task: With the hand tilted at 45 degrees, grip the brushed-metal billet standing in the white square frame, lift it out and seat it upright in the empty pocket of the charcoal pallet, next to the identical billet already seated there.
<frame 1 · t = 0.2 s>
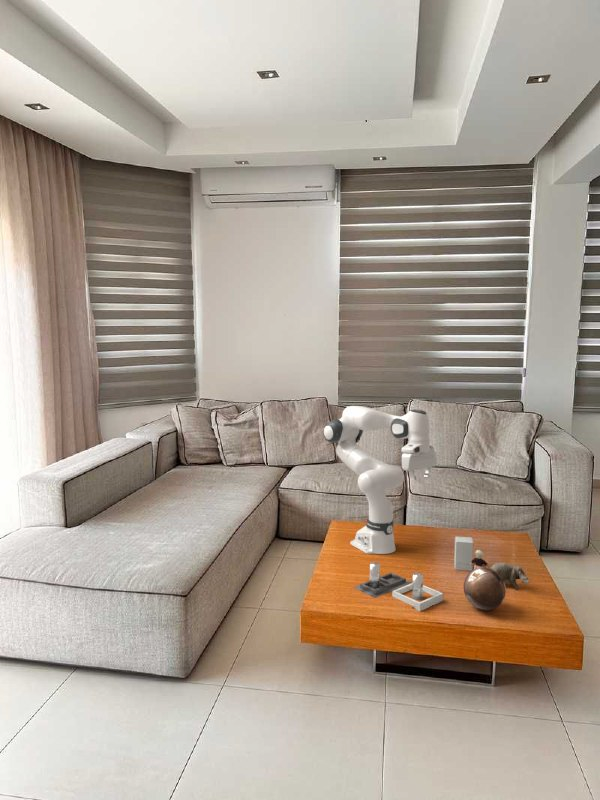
hand: (420, 478, 260), 39 cm above the table, tool pointing down, fingers open, 8 cm apart
grandmother figurine: (478, 580, 249), on the table
supplement box: (463, 567, 262), on the table
seated billet: (374, 588, 238), point 1 cm above the table, touching pallet
brown metallic sphere: (483, 608, 224), on the table
billet: (417, 587, 230), in the white square frame
pallet: (383, 587, 242), on the table
rhinoceros figurine: (509, 587, 242), on the table
white square frame: (417, 599, 231), on the table
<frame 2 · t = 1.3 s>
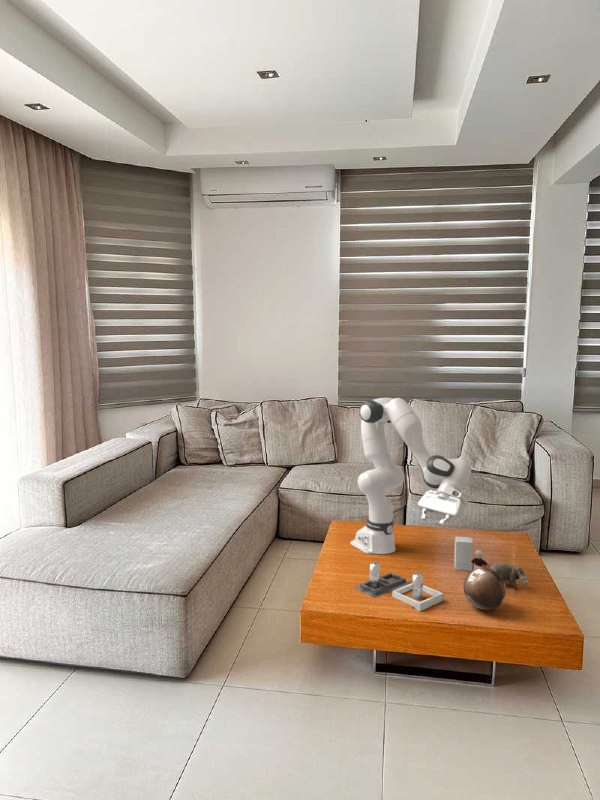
hand: (432, 522, 242), 26 cm above the table, tool tilted 45°, fingers open, 8 cm apart
nothing on the table moved.
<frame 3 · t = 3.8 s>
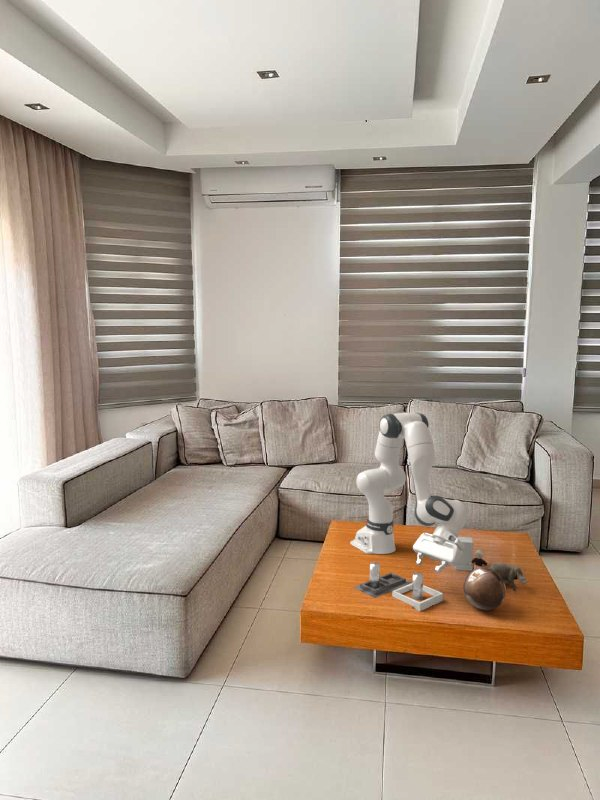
hand: (427, 568, 232), 11 cm above the table, tool tilted 45°, fingers open, 8 cm apart
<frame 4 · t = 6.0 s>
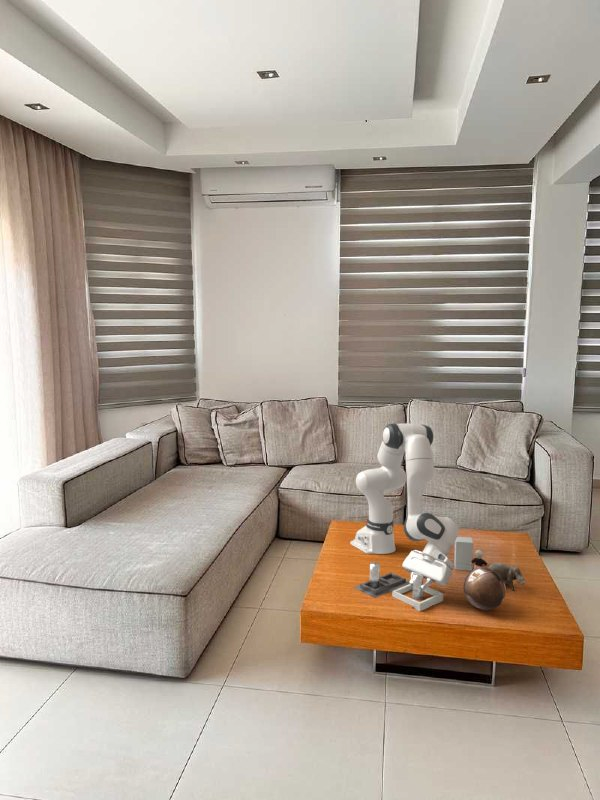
hand: (416, 586, 230), 5 cm above the table, tool tilted 45°, fingers closed on billet, 4 cm apart
billet: (417, 587, 230), in the white square frame, touching gripper
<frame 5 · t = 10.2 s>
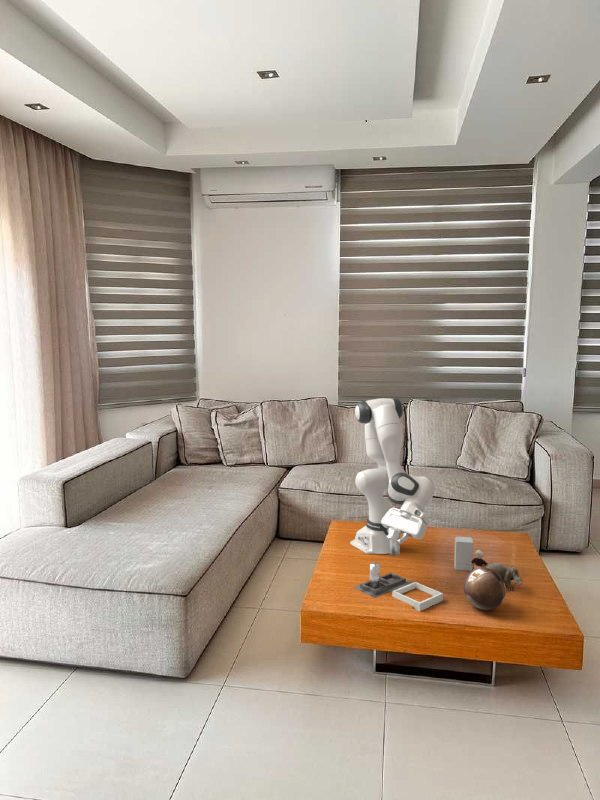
hand: (393, 541, 241), 19 cm above the table, tool tilted 45°, fingers closed on billet, 4 cm apart
billet: (394, 541, 241), point 18 cm above the table, touching gripper
when the fingers open (7 cm above the table, at t = 14.3 s): billet stays where it is, resting on pallet.
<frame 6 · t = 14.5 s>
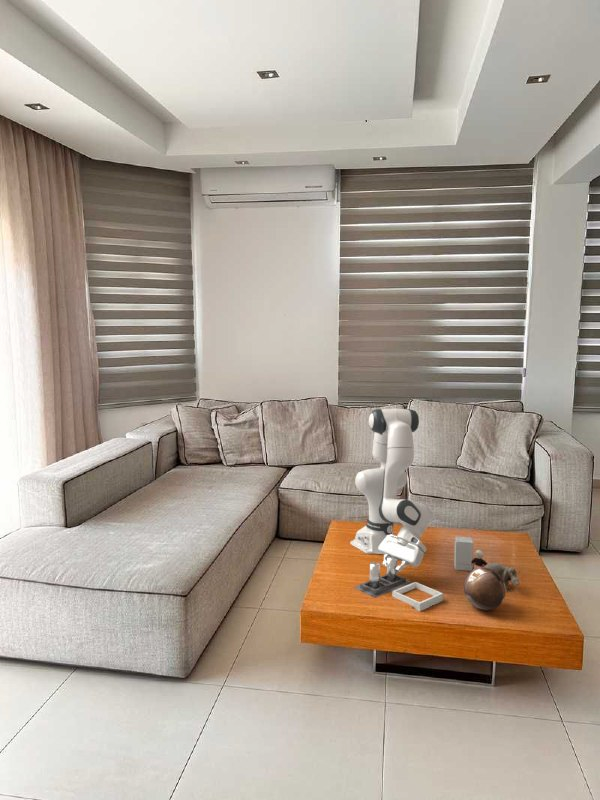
hand: (390, 568, 244), 7 cm above the table, tool tilted 45°, fingers open, 6 cm apart
billet: (391, 569, 244), in the pallet, point 6 cm above the table
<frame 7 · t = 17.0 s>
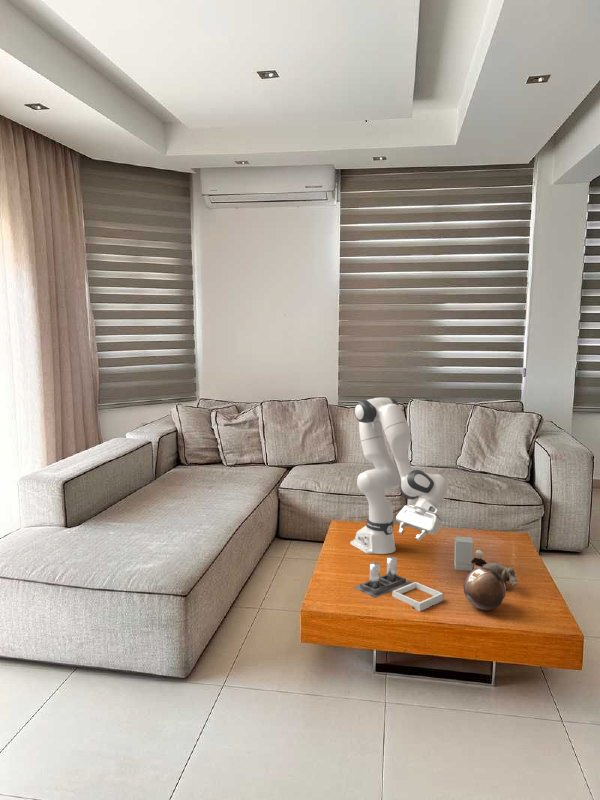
hand: (408, 536, 249), 18 cm above the table, tool tilted 45°, fingers open, 8 cm apart
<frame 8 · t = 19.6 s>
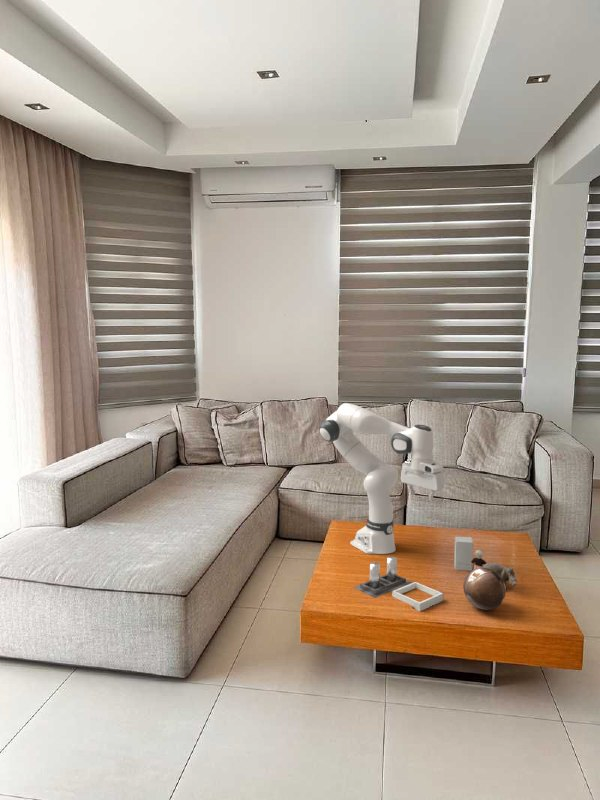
hand: (421, 497, 249), 34 cm above the table, tool pointing down, fingers open, 8 cm apart
grandmother figurine: (478, 580, 249), on the table, touching rhinoceros figurine
rhinoceros figurine: (500, 588, 241), on the table, touching grandmother figurine
everything else where it was.
at the end: billet 0.0 cm from the target spot on the pallet, point 6.0 cm above the pallet's base; billet tilted 0°; the gripper is holding nothing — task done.
